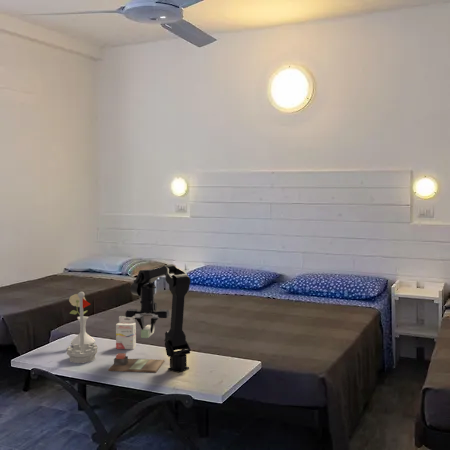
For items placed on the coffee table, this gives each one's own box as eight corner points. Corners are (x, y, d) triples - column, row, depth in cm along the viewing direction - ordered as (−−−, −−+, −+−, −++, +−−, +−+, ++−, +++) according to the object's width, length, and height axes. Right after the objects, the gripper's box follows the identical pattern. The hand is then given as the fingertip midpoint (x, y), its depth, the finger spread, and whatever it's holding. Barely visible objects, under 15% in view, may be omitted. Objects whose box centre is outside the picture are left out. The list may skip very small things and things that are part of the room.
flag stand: (60, 361, 245) (59, 292, 244) (81, 353, 257) (79, 288, 255) (83, 365, 239) (82, 295, 238) (103, 357, 251) (102, 290, 249)
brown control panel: (164, 361, 244) (164, 353, 243) (156, 372, 229) (155, 364, 228) (119, 360, 246) (119, 352, 246) (108, 370, 231) (108, 362, 231)
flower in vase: (99, 343, 273) (99, 292, 272) (87, 350, 263) (86, 296, 261) (76, 341, 277) (75, 291, 276) (63, 347, 267) (61, 295, 265)
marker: (147, 331, 256) (147, 324, 256) (154, 331, 256) (154, 324, 256) (140, 337, 245) (140, 330, 245) (148, 338, 245) (148, 330, 245)
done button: (125, 359, 239) (125, 353, 239) (123, 361, 236) (123, 355, 236) (118, 358, 240) (118, 353, 240) (116, 360, 237) (116, 355, 237)
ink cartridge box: (115, 349, 264) (115, 318, 263) (118, 346, 269) (118, 315, 268) (133, 349, 263) (133, 318, 262) (136, 346, 268) (135, 316, 267)
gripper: (171, 294, 256) (172, 328, 257) (132, 294, 259) (132, 327, 260) (166, 299, 245) (166, 334, 246) (124, 298, 248) (125, 333, 249)
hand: (147, 332), depth 250 cm, fingers closed on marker, 3 cm apart
